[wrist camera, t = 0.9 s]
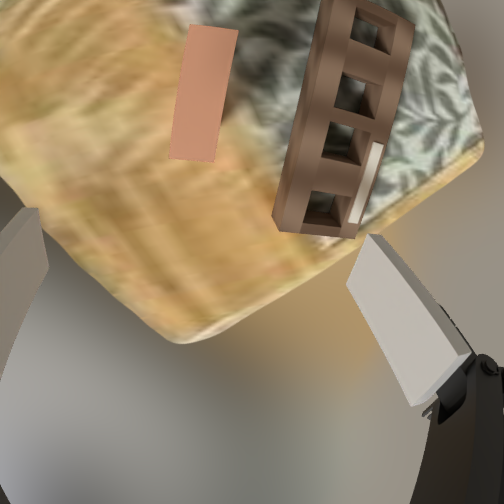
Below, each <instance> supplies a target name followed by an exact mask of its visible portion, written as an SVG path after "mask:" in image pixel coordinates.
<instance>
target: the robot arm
mask: <svg viewBox="0 0 504 504" xmlns="http://www.w3.org/2000/svg"><path fill="white" fill-rule="evenodd" d="M48 269H49V264H48V259H47V255H46V250H45V245H44V240H43V234H42V229H41V223H40V217H39V210H38V208H22V209H21V210H20V211H19V212H18V213H17V214H16V216H14V218H13V219H12V220H11V221H10V222H9V223H8V225H7V226H6V227H5V228H4V229H3V230H2V231H1V233H0V380H1V376H2V374H3V371H4V368H5V365H6V362H7V360H8V357H9V354H10V352H11V349H12V346H13V344H14V341H15V339H16V336H17V334H18V332H19V329H20V327H21V325H22V322H23V320H24V318H25V316H26V313H27V311H28V309H29V307H30V305H31V303H32V301H33V299H34V296H35V294H36V292H37V290H38V288H39V286H40V284H41V282H42V281H43V279H44V277H45V275H46V273H47V271H48ZM346 285H347V287H348V289H349V291H350V292H351V294H352V296H353V298H354V299H355V301H356V303H357V305H358V307H359V308H360V310H361V312H362V313H363V315H364V317H365V319H366V320H367V323H368V324H369V326H370V328H371V330H372V331H373V333H374V335H375V337H376V339H377V341H378V343H379V345H380V347H381V349H382V350H383V352H384V354H385V356H386V358H387V360H388V362H389V364H390V366H391V368H392V370H393V371H394V373H395V376H396V378H397V379H398V382H399V384H400V385H401V388H402V390H403V392H404V394H405V396H406V398H407V400H408V402H409V404H410V406H411V407H412V406H415V405H418V404H421V403H424V402H426V401H427V400H428V399H429V398H430V397H431V396H432V395H433V394H434V393H435V392H436V393H437V395H438V399H436V400H435V401H434V402H433V403H432V404H431V405H430V406H429V407H428V408H427V409H426V410H425V411H424V412H423V414H422V417H424V416H425V415H427V414H428V413H429V412H430V411H432V413H431V414H430V415H429V416H428V417H427V418H428V419H429V420H431V421H430V427H429V432H428V437H427V442H426V447H425V451H424V455H423V459H422V463H421V467H420V471H419V475H418V478H417V482H416V485H415V489H414V492H413V495H412V498H411V501H410V504H504V414H503V408H504V367H498V365H497V363H496V362H495V361H494V360H493V359H492V358H491V357H489V356H488V355H485V354H479V355H478V356H477V355H476V354H475V352H474V351H473V349H472V348H471V346H470V345H469V343H468V342H467V341H466V339H465V338H464V336H463V335H462V333H461V332H460V331H459V329H458V328H457V327H455V324H454V322H453V321H452V319H450V317H449V315H448V314H447V313H446V311H445V310H444V309H443V307H442V306H440V305H439V304H438V303H437V302H436V301H435V299H434V298H433V297H432V295H431V294H430V293H429V292H428V290H427V289H426V288H425V286H424V285H423V284H422V283H421V282H420V280H419V279H418V278H417V276H416V275H415V274H414V273H413V271H412V270H411V269H410V268H409V267H408V265H407V264H406V263H405V262H404V261H403V259H402V258H401V257H400V256H399V255H398V254H397V252H395V250H394V249H393V248H392V246H391V245H390V244H389V243H388V242H387V241H386V240H385V238H384V237H383V236H381V235H377V234H367V236H366V239H365V241H364V243H363V246H362V248H361V251H360V253H359V255H358V258H357V260H356V262H355V265H354V267H353V269H352V272H351V274H350V277H349V278H348V281H347V283H346ZM0 504H10V502H9V500H8V499H7V497H6V495H5V493H4V491H3V489H2V487H1V485H0Z"/></svg>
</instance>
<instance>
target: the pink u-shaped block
mask: <svg viewBox="0 0 504 504" xmlns="http://www.w3.org/2000/svg"><path fill="white" fill-rule="evenodd" d="M238 32H239V30H232V29H226V28H219V27H211V26H202V25H192V24H190V26H189V31H188V36H187V41H186V46H185V51H184V56H183V61H182V67H181V73H180V79H179V85H178V91H177V98H176V104H175V111H174V119H173V126H172V134H171V143H170V152H169V159H180V160H192V161H202V162H212V163H214V160H215V154H216V148H217V142H218V136H219V130H220V124H221V118H222V113H223V107H224V101H225V96H226V91H227V85H228V80H229V75H230V70H231V65H232V60H233V55H234V50H235V46H236V41H237V36H238Z"/></svg>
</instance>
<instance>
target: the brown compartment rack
mask: <svg viewBox="0 0 504 504" xmlns="http://www.w3.org/2000/svg"><path fill="white" fill-rule="evenodd" d="M354 17H355V18H358V19H360V20H363V21H365V22H367V23H370V24H372V25H374V26H376V27H378V31H377V36H376V41H375V46H374V48H372V47H370V46H367V45H365V44H362V43H360V42H357V41H355V40H352V39H350V34H351V30H352V25H353V20H354ZM414 30H415V24H413V23H411V22H409V21H408V20H406V19H404V18H402V17H400V16H398V15H396V14H394V13H393V12H391V11H389V10H387V9H385V8H382V7H380V6H378V5H376V4H374V3H372V2H370V1H367V0H321V3H320V8H319V12H318V17H317V21H316V26H315V30H314V35H313V39H312V44H311V48H310V53H309V57H308V62H307V66H306V71H305V75H304V80H303V84H302V88H301V93H300V97H299V101H298V106H297V110H296V114H295V119H294V123H293V127H292V132H291V136H290V140H289V145H288V149H287V153H286V157H285V162H284V166H283V170H282V174H281V179H280V183H279V187H278V191H277V195H276V200H275V204H274V208H273V212H272V218H273V220H274V222H275V224H276V226H277V228H278V230H279V231H281V232H291V233H301V234H311V235H321V236H330V237H340V238H349V239H355V237H356V234H357V232H358V229H359V226H360V224H361V221H362V218H363V215H364V213H365V210H366V207H367V204H368V201H369V198H370V195H371V193H372V190H373V187H374V184H375V181H376V178H377V174H378V171H379V168H380V165H381V162H382V159H383V155H384V152H385V149H386V146H387V142H388V139H389V135H390V132H391V128H392V125H393V121H394V117H395V114H396V110H397V106H398V102H399V98H400V94H401V90H402V86H403V82H404V78H405V74H406V69H407V65H408V60H409V55H410V50H411V45H412V40H413V35H414ZM341 75H343V76H346V77H349V78H352V79H355V80H358V81H360V82H363V83H366V85H365V89H364V93H363V97H362V101H361V105H360V109H359V113H358V114H357V113H353V112H350V111H347V110H343V109H340V108H337V107H334V104H335V100H336V95H337V91H338V87H339V83H340V79H341ZM330 121H331V122H335V123H339V124H342V125H346V126H349V127H353V128H354V132H353V135H352V139H351V143H350V146H349V150H348V153H347V157H346V156H342V155H338V154H333V153H329V152H324V151H323V147H324V143H325V139H326V135H327V131H328V128H329V124H330ZM312 190H313V191H319V192H325V193H331V194H335V197H334V200H333V204H332V207H331V210H330V213H324V212H317V211H309V210H306V209H307V205H308V202H309V198H310V195H311V191H312Z"/></svg>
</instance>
